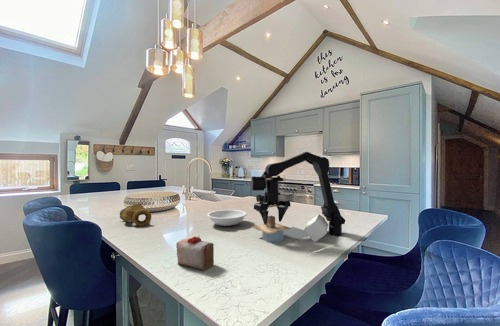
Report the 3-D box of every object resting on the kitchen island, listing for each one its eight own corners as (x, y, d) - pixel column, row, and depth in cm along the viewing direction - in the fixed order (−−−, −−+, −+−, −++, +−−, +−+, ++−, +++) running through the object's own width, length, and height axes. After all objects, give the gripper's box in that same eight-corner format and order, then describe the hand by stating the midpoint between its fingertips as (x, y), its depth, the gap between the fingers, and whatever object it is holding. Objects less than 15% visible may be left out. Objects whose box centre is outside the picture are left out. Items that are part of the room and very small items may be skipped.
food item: (172, 265, 81) (172, 237, 81) (188, 256, 88) (188, 231, 88) (203, 273, 75) (203, 243, 75) (217, 263, 82) (216, 236, 82)
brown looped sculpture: (153, 206, 155) (155, 206, 136) (147, 225, 152) (148, 228, 132) (124, 200, 148) (122, 198, 129) (117, 219, 145) (113, 221, 125)
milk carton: (314, 243, 102) (318, 231, 119) (326, 233, 100) (329, 222, 117) (303, 230, 103) (309, 220, 121) (315, 221, 101) (319, 212, 119)
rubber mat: (293, 227, 126) (293, 226, 126) (316, 234, 113) (316, 233, 113) (271, 233, 117) (271, 232, 117) (294, 241, 104) (294, 240, 104)
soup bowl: (202, 222, 140) (202, 211, 140) (238, 218, 150) (238, 208, 150) (213, 232, 118) (213, 220, 118) (254, 227, 128) (254, 215, 128)
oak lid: (272, 223, 117) (272, 212, 117) (290, 228, 106) (290, 217, 106) (252, 227, 109) (251, 216, 110) (269, 234, 99) (269, 221, 99)
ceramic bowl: (273, 234, 114) (273, 225, 114) (287, 240, 106) (287, 229, 106) (258, 238, 108) (258, 228, 108) (272, 244, 100) (271, 233, 100)
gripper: (275, 187, 119) (276, 217, 119) (246, 190, 108) (247, 222, 108) (291, 189, 110) (291, 221, 110) (261, 192, 99) (261, 227, 99)
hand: (272, 223), depth 107 cm, fingers open, 9 cm apart
